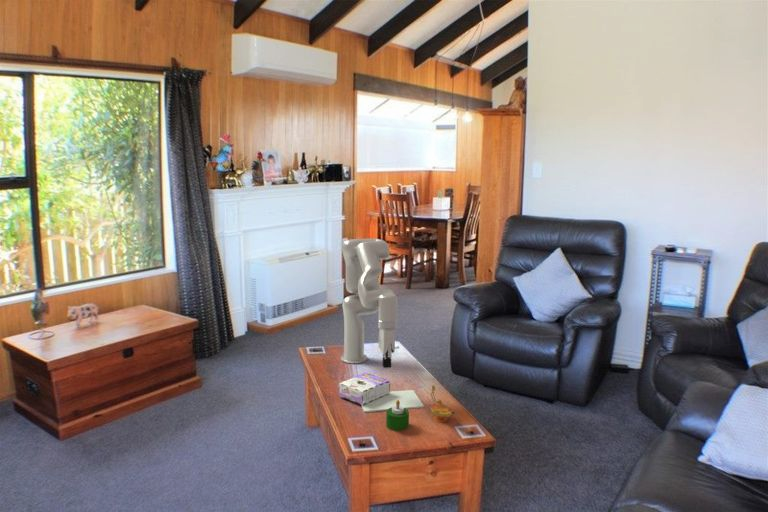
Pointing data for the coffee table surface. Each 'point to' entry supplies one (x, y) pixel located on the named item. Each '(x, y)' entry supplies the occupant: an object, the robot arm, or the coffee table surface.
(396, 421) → the candle
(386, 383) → the candy box
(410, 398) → the mat
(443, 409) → the magic lamp
